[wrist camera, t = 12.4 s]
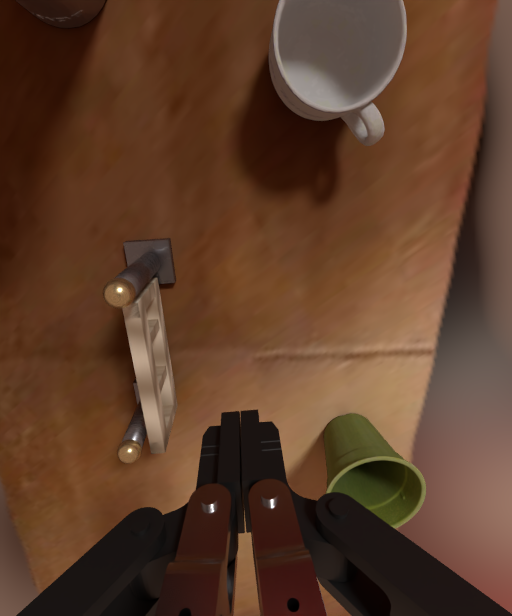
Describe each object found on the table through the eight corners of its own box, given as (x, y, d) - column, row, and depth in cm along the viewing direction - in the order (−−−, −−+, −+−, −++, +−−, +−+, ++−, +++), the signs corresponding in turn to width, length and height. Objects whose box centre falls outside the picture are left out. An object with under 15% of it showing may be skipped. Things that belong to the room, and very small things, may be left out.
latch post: (135, 379, 46) (102, 445, 35) (165, 376, 46) (142, 442, 35) (140, 404, 48) (110, 476, 36) (170, 402, 48) (149, 473, 36)
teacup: (249, 25, 34) (253, -19, 26) (358, -22, 33) (394, -81, 25) (294, 172, 38) (308, 171, 31) (390, 134, 38) (428, 124, 30)
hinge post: (125, 241, 40) (75, 270, 27) (170, 238, 40) (140, 266, 28) (133, 283, 42) (90, 328, 29) (176, 280, 42) (150, 324, 29)
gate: (144, 278, 40) (121, 303, 32) (157, 277, 40) (137, 302, 32) (166, 406, 46) (151, 453, 38) (177, 405, 46) (165, 452, 38)
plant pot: (396, 400, 50) (439, 460, 39) (377, 465, 54) (411, 536, 43) (314, 395, 49) (335, 455, 38) (301, 462, 53) (317, 533, 42)
